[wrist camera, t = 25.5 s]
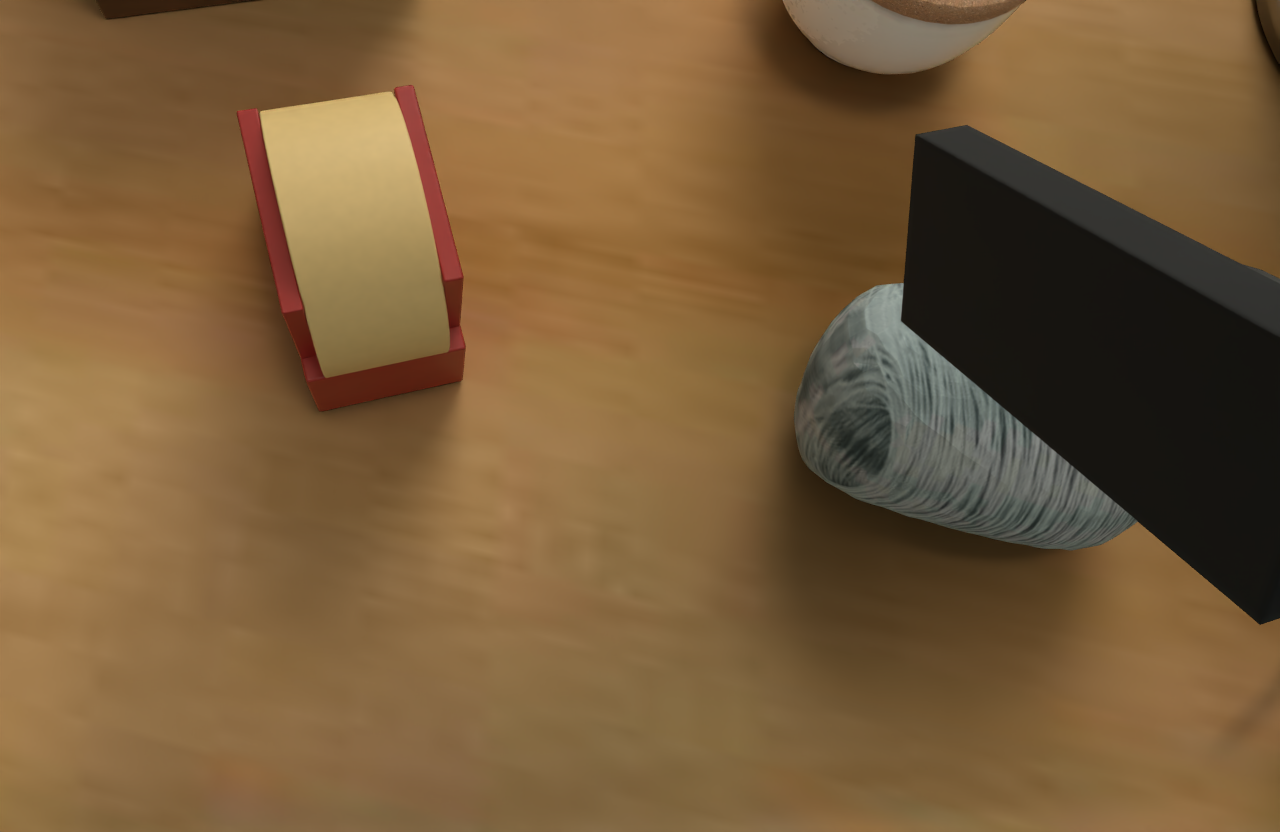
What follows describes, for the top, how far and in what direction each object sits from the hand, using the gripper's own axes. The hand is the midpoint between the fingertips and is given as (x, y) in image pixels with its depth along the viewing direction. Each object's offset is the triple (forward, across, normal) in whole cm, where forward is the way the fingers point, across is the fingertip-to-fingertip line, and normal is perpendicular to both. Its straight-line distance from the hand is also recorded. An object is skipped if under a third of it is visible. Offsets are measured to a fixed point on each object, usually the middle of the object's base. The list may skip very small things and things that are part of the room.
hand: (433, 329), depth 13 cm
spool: (+18, -20, +19) cm, 33 cm away
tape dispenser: (+26, 0, +11) cm, 28 cm away
